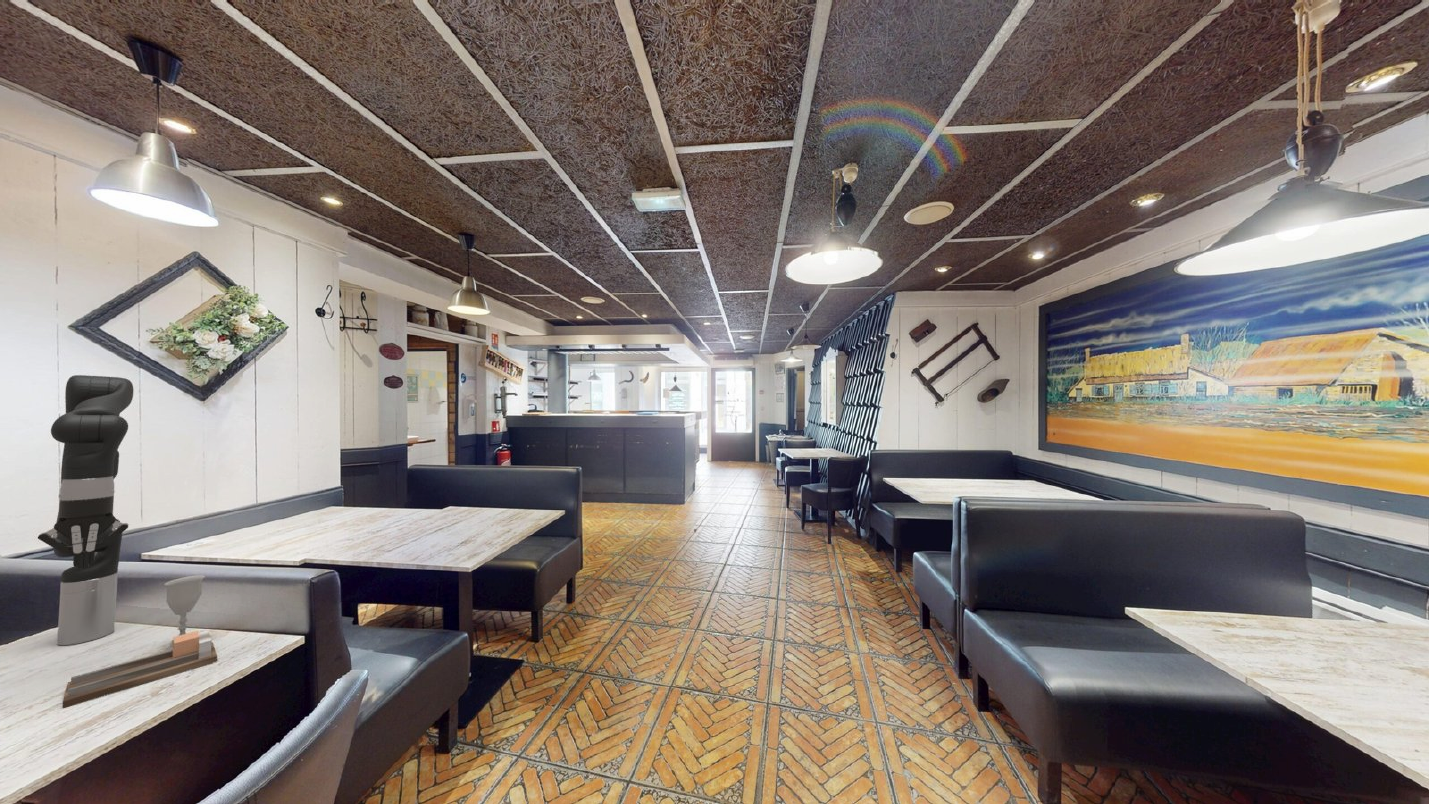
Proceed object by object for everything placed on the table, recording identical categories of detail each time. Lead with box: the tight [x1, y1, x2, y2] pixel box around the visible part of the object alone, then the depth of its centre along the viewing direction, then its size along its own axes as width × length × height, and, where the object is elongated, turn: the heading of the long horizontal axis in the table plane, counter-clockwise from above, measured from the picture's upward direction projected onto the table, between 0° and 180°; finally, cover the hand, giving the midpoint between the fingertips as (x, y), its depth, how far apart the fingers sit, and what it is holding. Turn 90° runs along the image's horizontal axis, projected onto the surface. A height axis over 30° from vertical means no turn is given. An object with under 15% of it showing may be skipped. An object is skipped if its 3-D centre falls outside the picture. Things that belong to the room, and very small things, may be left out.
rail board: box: [62, 630, 218, 709], centre depth 105 cm, size 11×22×6 cm, turn 144°
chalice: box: [163, 574, 206, 651], centre depth 118 cm, size 7×7×18 cm
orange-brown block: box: [172, 630, 199, 659], centre depth 110 cm, size 5×4×5 cm
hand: (83, 567), depth 103 cm, fingers closed
